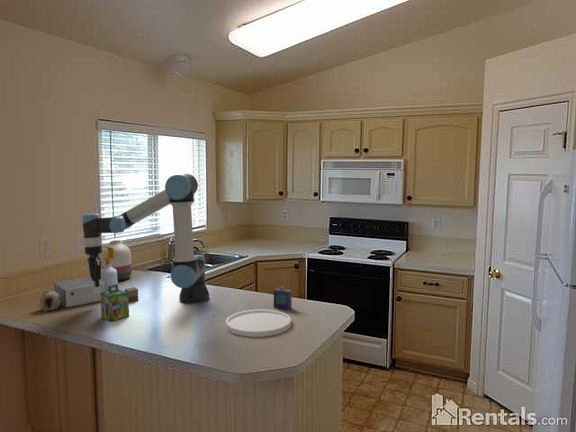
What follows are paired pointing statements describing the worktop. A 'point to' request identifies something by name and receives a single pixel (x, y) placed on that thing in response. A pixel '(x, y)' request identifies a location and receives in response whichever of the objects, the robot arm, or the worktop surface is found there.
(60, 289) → the housing
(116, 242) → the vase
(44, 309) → the garlic bulb
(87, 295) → the grey drawer
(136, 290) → the block
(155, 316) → the worktop surface
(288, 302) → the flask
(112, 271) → the soap bottle
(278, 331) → the plate
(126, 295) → the chalk box
